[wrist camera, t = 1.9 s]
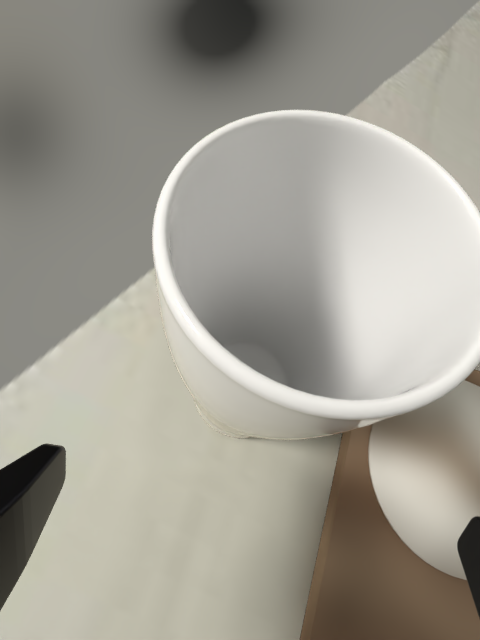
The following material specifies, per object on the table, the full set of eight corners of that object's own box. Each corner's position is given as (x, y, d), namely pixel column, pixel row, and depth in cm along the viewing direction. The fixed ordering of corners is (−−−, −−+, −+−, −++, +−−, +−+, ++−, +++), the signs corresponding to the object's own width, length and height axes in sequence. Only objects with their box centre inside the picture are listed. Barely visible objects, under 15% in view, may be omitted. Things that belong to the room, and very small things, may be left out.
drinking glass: (314, 370, 21) (540, 197, 7) (263, 478, 19) (463, 519, 5) (218, 315, 22) (260, 60, 8) (155, 411, 19) (55, 279, 5)
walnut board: (550, 872, 14) (586, 913, 13) (273, 764, 14) (281, 794, 13) (541, 403, 22) (562, 400, 21) (362, 338, 22) (372, 330, 21)
